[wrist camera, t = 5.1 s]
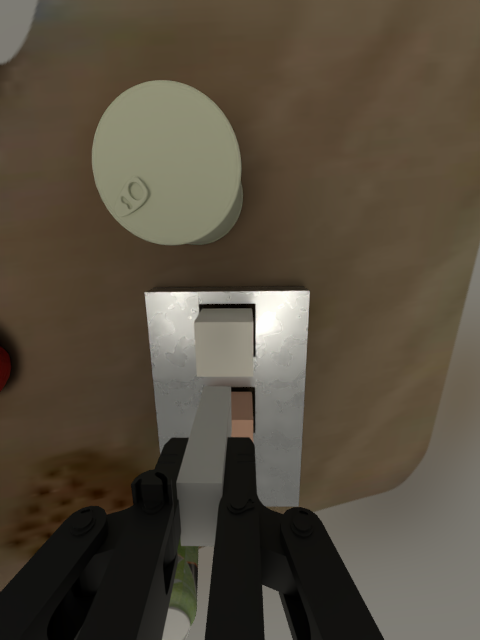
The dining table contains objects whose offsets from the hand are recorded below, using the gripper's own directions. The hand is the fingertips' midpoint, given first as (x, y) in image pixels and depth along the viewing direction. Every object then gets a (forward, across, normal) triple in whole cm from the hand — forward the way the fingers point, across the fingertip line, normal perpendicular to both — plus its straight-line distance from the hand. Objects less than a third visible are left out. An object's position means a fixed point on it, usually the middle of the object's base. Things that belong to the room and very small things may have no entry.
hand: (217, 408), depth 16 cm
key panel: (+17, 0, -9) cm, 19 cm away
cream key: (+13, 0, 0) cm, 13 cm away
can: (+17, -3, +13) cm, 22 cm away
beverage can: (+17, -7, -28) cm, 33 cm away
